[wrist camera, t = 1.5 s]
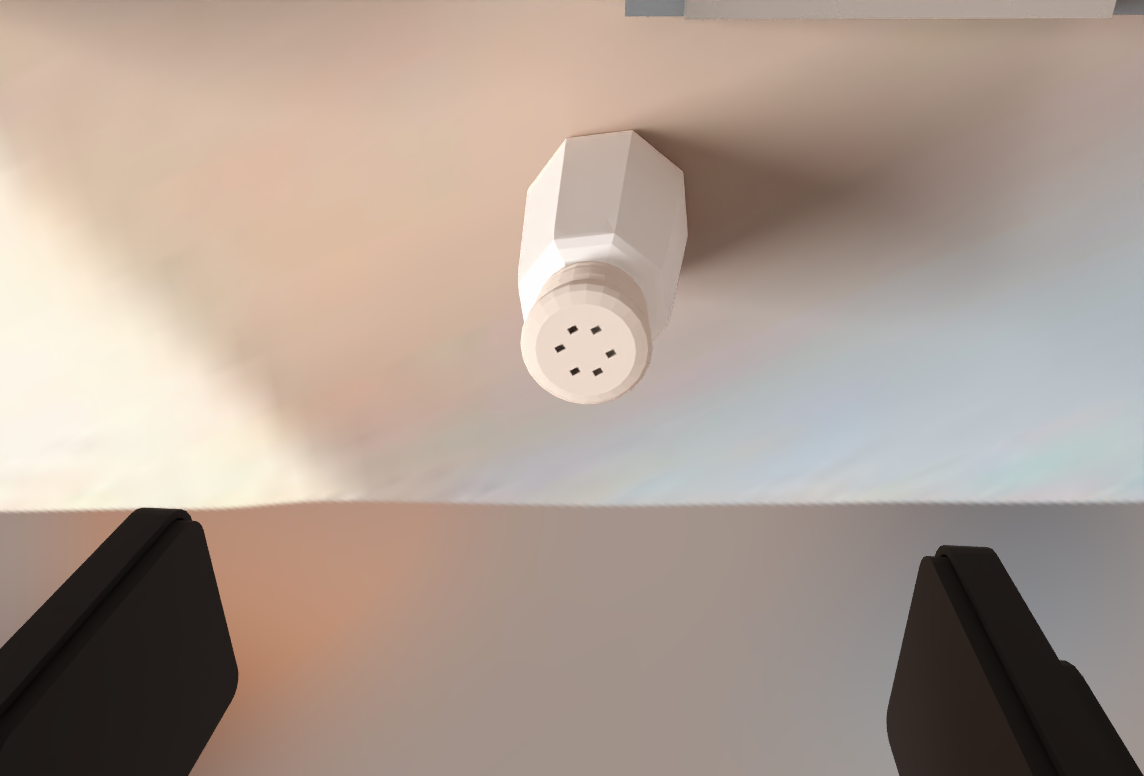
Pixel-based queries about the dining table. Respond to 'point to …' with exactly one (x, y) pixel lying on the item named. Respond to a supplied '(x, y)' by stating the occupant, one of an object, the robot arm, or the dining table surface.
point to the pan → (897, 9)
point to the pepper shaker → (599, 264)
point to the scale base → (672, 3)
